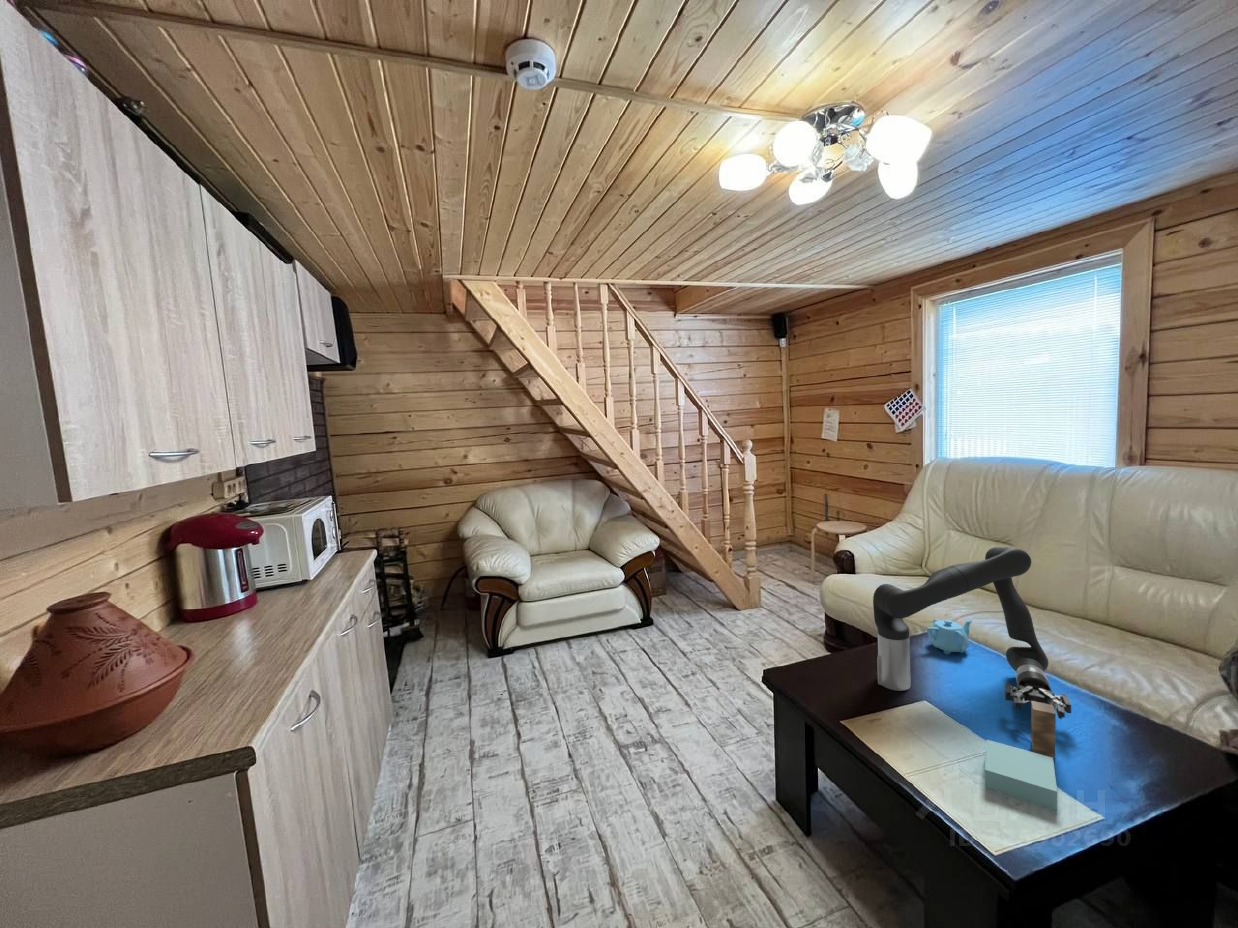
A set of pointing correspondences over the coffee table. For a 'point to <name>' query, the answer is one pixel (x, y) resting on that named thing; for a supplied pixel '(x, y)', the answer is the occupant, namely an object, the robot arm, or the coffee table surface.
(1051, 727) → the walnut pillar
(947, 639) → the teapot
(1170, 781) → the coffee table surface
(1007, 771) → the teal block
